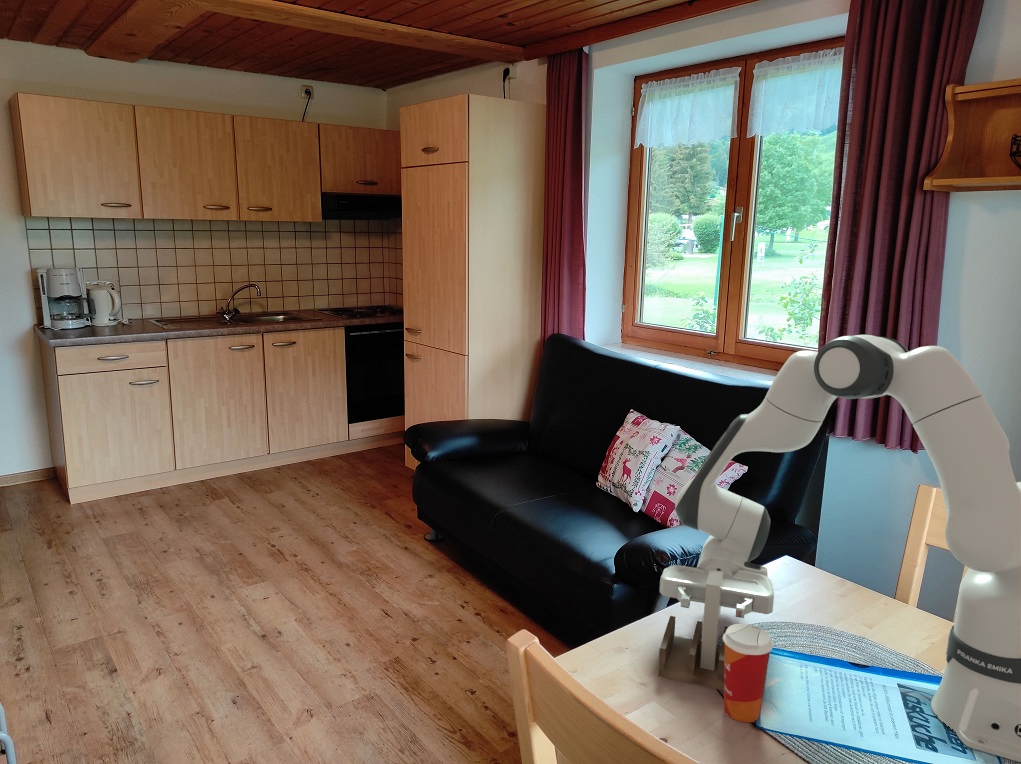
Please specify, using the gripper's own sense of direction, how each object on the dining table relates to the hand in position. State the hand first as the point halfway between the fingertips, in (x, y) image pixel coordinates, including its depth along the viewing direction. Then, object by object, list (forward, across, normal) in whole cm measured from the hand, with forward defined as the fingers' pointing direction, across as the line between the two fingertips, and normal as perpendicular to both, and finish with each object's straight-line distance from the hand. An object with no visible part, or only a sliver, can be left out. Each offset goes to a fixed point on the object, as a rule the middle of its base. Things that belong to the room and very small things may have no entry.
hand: (712, 608), depth 132 cm
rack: (-1, 0, +12) cm, 12 cm away
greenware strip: (-1, 0, +10) cm, 11 cm away
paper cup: (+10, +6, +12) cm, 17 cm away
